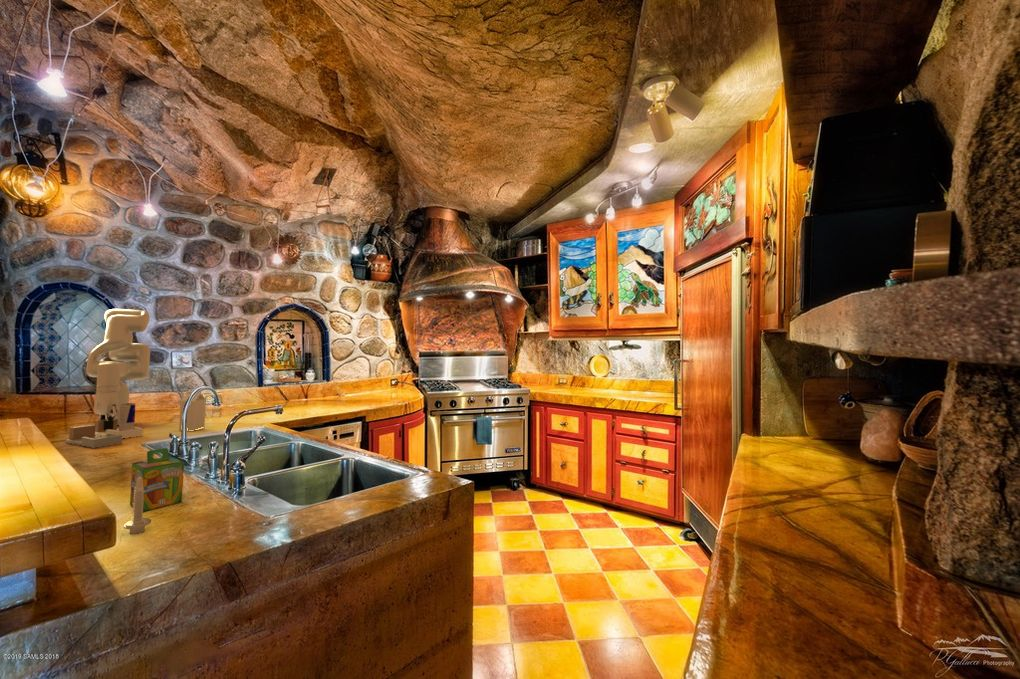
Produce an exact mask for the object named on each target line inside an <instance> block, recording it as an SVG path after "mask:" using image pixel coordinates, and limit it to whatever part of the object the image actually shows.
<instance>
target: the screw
mask: <svg viewBox="0 0 1020 679" xmlns="http://www.w3.org/2000/svg"><path fill="white" fill-rule="evenodd" d="M143 489H144V487H143V481H142V478H141V477H138V478H137V482H136V487H135V490H134V491H135V493H134V494H135V495H134V496H135V497H134V498H133V499H134V503H133V504H134V507H133V508H132V509H133V512H132V514H133V515H132V517H133V518H132V520H129V521H127V522H126V523H125V524H124V525H123V528H124V530H125V529H126V530H129V534H130V535H138V534H141V533H143V531H144V532H145V530H146V527H147V525H150V524H151V523H152V519H151V518H149V517H144V511H143V508H144V507H143V506H144V505H143V503H144V502H143V501H144V500H143V499H144V497H143V496H144V495H143V494H144V492H143V491H144V490H143ZM142 511H143V512H142ZM140 532H141V533H140ZM137 533H138V534H137Z"/></svg>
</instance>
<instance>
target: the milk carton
mask: <svg viewBox="0 0 1020 679" xmlns="http://www.w3.org/2000/svg"><path fill="white" fill-rule="evenodd" d="M192 392H193V391H189V390H188V391H186V394H184V396H183V397H182V398H181V399H180V405H179V407H180V408H179V422H178V423H179V424H178V426H179V428H178V430H179V432H182V431H181V418H182V412H183V407H184V405H185V402H186V400H187V398H188V397H189V395H190V394H191V393H192ZM199 392H200V393H199V394H198V395H197V396H196V397H195V398H194V399H193V400H192V401H191V404H190V406H189V410H188V415H187V428H188V431H187V432H190V431H189V430H195V429H198V428H201V427H204V428H205V425H206V405H207V404H206V402H207V399H206V398H205V397H204V395H202V391H199Z"/></svg>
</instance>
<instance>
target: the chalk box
mask: <svg viewBox="0 0 1020 679" xmlns="http://www.w3.org/2000/svg"><path fill="white" fill-rule="evenodd" d="M146 452H147V453H146V458H147V459H146V460H141V461H140V460H139V461H136V462H135V461H134V462H132V463H131V481H130V497H129V498H130V501H129V505H130V506H132V507H133V508H134V504H133V503H134V499H133V498H134V497H135V496H134V495H135V494H134V493H135V491H134V490H135V487H136V482H137V478H138V477H141V478H142V481H143V487H144V489H143V490H144V491H143V492H144V494H143V495H144V496H143V497H144V499H143V500H144V501H143V502H144V503H143V505H144V506H143V507H144V508H143V511H142V512H143V513H144V512H147V511H151V510H154V509H160V508H164V507H169V506H171V505H172V506H173V505H176V503H177V504H180V503H182V502H183V501H182V500H183V499H182V498H183V488H184V487H183V486H184V485H183V484H184V483H183V482H184V470H185V462H184V461H183V460H180V459H179V458H176V457H173V456H169V449H168V448H167V447H165V448H158V449H157V448H156V449H152V450H148V451H146ZM156 454H161V455H162V456H161V457H160V458H159V457H158V458H154V455H156Z"/></svg>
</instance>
